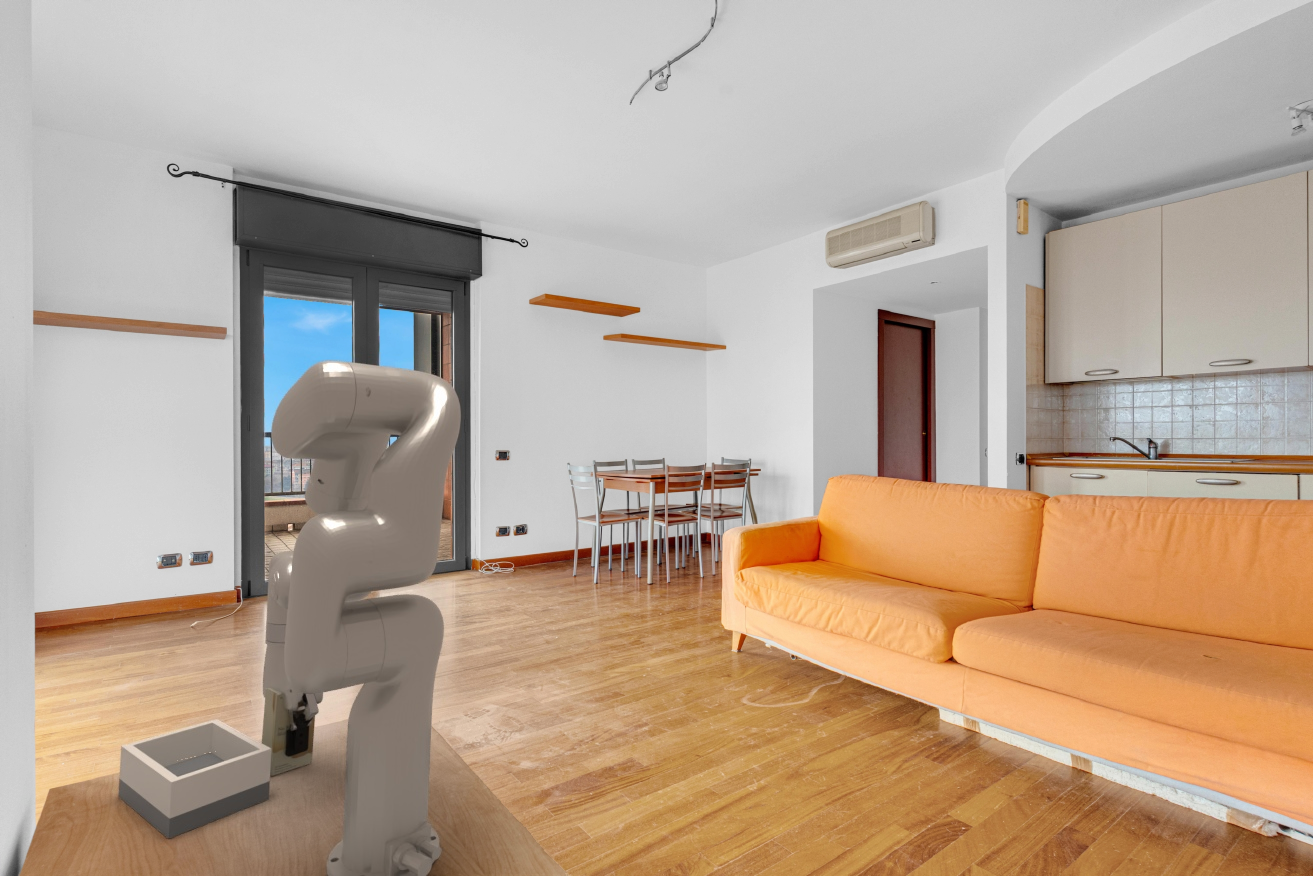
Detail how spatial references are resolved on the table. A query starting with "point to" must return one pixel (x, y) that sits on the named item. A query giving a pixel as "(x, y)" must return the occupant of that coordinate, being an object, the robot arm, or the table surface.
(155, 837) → the table surface
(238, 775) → the box
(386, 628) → the robot arm
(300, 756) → the skincare box
